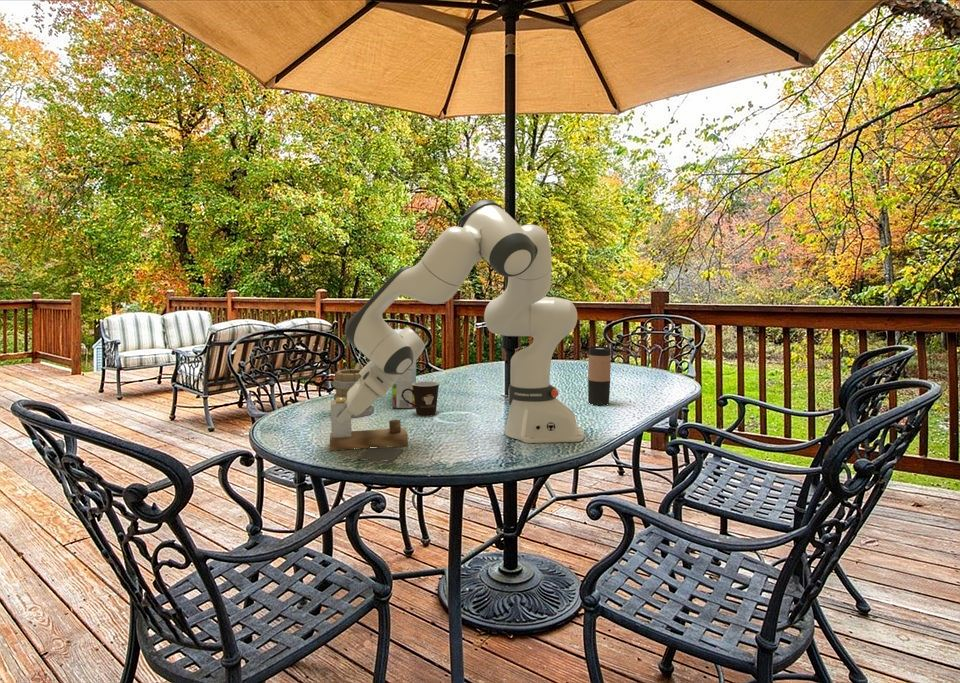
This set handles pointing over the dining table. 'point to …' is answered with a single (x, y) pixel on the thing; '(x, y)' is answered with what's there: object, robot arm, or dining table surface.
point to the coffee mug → (424, 397)
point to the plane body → (372, 438)
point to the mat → (381, 454)
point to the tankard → (349, 385)
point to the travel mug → (599, 375)
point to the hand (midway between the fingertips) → (338, 417)
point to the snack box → (404, 386)
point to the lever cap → (336, 427)
